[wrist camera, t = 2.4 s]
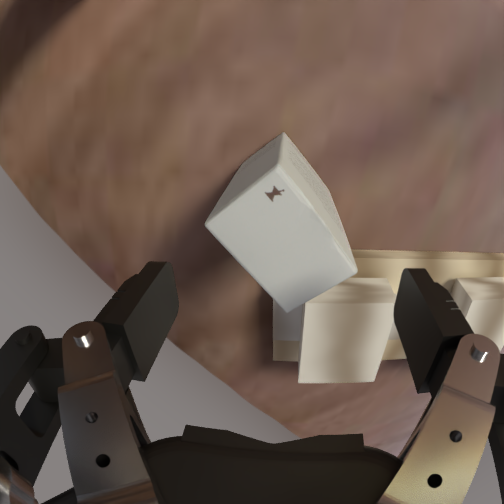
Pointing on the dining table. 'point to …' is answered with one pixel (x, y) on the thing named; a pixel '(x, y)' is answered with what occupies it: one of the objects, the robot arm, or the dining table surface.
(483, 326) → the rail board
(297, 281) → the skincare box
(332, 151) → the dining table surface
